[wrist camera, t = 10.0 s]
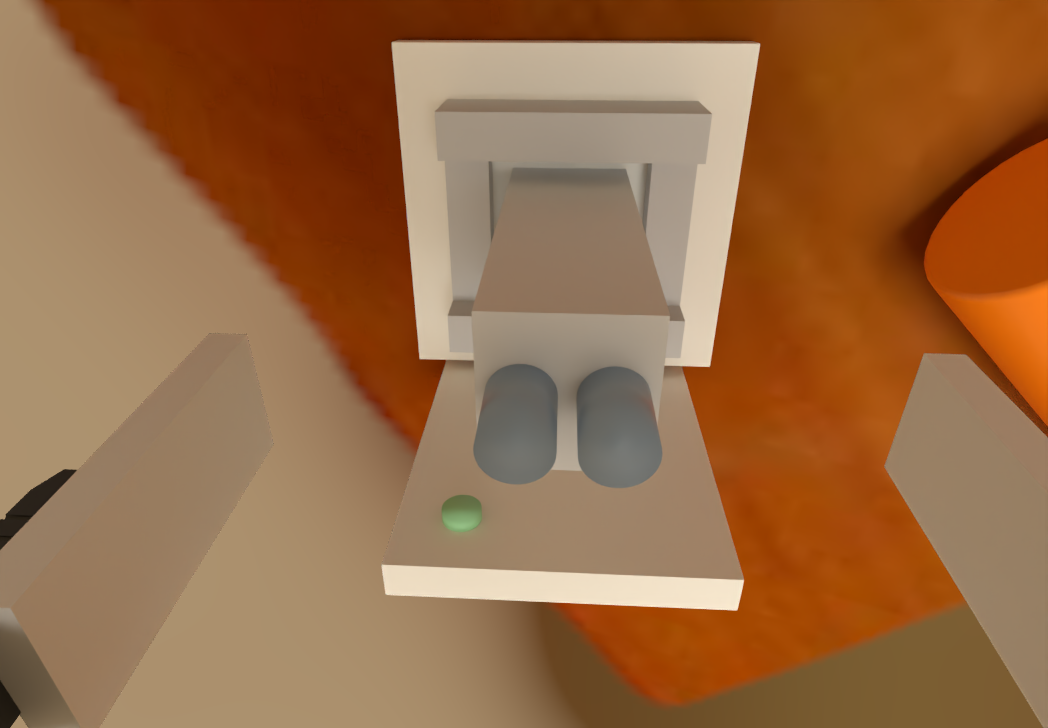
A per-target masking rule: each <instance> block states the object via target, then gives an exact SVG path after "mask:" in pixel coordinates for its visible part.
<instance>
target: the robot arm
mask: <svg viewBox="0 0 1048 728" xmlns="http://www.w3.org/2000/svg"><path fill="white" fill-rule="evenodd" d="M273 444H274V443H273V439H272V435H271V431H270V427H269V422H268V419H267V414H266V410H265V407H264V402H263V398H262V394H261V390H260V386H259V382H258V377H257V373H256V369H255V365H254V361H253V357H252V353H251V349H250V345H249V340H248V336H247V334H220V333H210V334H208V335H207V336H206V338H205V339H204V340H203V341H202V342H201V343H200V344H199V345H198V346H197V347H196V348H195V349H194V350H193V351H192V352H191V353H190V354H189V355H188V356H187V357H186V358H185V360H184V361H182V362H181V363H180V365H179V366H178V367H177V368H176V369H175V370H174V371H173V372H172V373H171V374H170V375H169V376H168V377H167V378H166V379H165V380H164V381H163V382H162V383H161V384H160V385H159V386H158V387H157V388H156V389H155V390H154V392H153V393H152V394H151V395H150V396H149V397H148V398H147V399H146V400H145V401H144V402H143V403H142V404H141V405H140V406H139V407H138V408H137V409H136V410H135V411H134V412H133V413H132V414H131V415H130V416H129V417H128V419H126V420H125V421H124V422H123V424H122V425H121V426H120V427H119V428H118V429H117V430H116V431H115V432H114V433H113V434H112V435H111V436H110V437H109V438H108V439H107V440H106V441H105V442H104V443H103V444H102V445H101V446H100V447H99V448H98V449H97V450H96V452H95V453H94V454H93V455H92V456H91V457H90V458H89V459H88V460H87V461H86V462H85V463H84V464H83V465H82V466H81V467H80V468H79V469H78V470H67V469H65V470H63V471H61V472H59V473H57V474H56V475H54V476H53V477H51V478H49V479H48V480H47V481H44V482H43V483H41V484H40V485H38V486H36V487H35V488H33V489H31V490H30V491H29V492H28V493H27V494H26V495H25V496H24V497H23V498H22V499H21V500H20V501H19V502H18V503H17V504H16V505H15V506H14V507H13V508H12V509H11V510H10V511H9V512H8V513H7V514H6V518H5V520H3V519H1V520H0V728H10V727H11V726H12V724H13V723H14V722H15V720H16V719H17V717H18V716H19V715H20V716H21V717H22V719H23V720H24V722H25V723H26V725H27V726H28V728H100V726H101V724H102V723H103V721H104V720H105V718H106V716H107V715H108V713H109V711H110V710H111V708H112V706H113V705H114V703H115V702H116V700H117V698H118V697H119V695H120V693H121V692H122V690H123V689H124V687H125V685H126V684H127V682H128V680H129V679H130V677H131V676H132V674H133V672H134V671H135V669H136V667H137V666H138V664H139V662H140V661H141V659H142V658H143V656H144V654H145V653H146V651H147V650H148V648H149V646H150V644H151V643H152V641H153V640H154V638H155V636H156V635H157V633H158V632H159V630H160V628H161V627H162V625H163V623H164V622H165V620H166V619H167V617H168V615H169V614H170V612H171V610H172V609H173V607H174V605H175V604H176V602H177V600H178V599H179V597H180V596H181V594H182V592H183V591H184V589H185V588H186V586H187V584H188V583H189V581H190V579H191V578H192V576H193V575H194V573H195V571H196V570H197V568H198V566H199V565H200V563H201V561H202V560H203V558H204V557H205V555H206V553H207V552H208V550H209V549H210V547H211V545H212V543H213V542H214V540H215V539H216V537H217V535H218V534H219V532H220V531H221V529H222V527H223V526H224V524H225V522H226V521H227V519H228V518H229V516H230V514H231V513H232V511H233V509H234V508H235V506H236V505H237V503H238V501H239V500H240V498H241V496H242V495H243V493H244V492H245V490H246V488H247V487H248V485H249V483H250V482H251V480H252V479H253V477H254V475H255V474H256V472H257V470H258V469H259V467H260V466H261V464H262V462H263V460H264V459H265V457H266V456H267V454H268V453H269V451H270V449H271V448H272V446H273ZM884 467H885V469H886V470H887V472H888V474H889V475H890V477H891V479H892V480H893V482H894V483H895V485H896V487H897V488H898V490H899V492H900V493H901V495H902V497H903V498H904V500H905V502H906V503H907V505H908V506H909V508H910V510H911V511H912V513H913V515H914V516H915V518H916V520H917V521H918V523H919V524H920V526H921V528H922V529H923V531H924V533H925V534H926V536H927V538H928V539H929V541H930V542H931V544H932V546H933V547H934V549H935V551H936V552H937V554H938V556H939V557H940V559H941V561H942V562H943V564H944V565H945V567H946V569H947V570H948V572H949V574H950V575H951V577H952V579H953V580H954V582H955V583H956V585H957V587H958V588H959V590H960V592H961V593H962V595H963V597H964V598H965V600H966V602H967V603H968V605H969V606H970V608H971V610H972V611H973V613H974V615H975V616H976V618H977V619H978V621H979V623H980V624H981V626H982V628H983V629H984V631H985V633H986V634H987V636H988V638H989V639H990V641H991V642H992V644H993V646H994V647H995V649H996V651H997V652H998V654H999V656H1000V657H1001V659H1002V660H1003V662H1004V664H1005V665H1006V667H1007V669H1008V670H1009V672H1010V674H1011V675H1012V677H1013V679H1014V680H1015V682H1016V684H1017V685H1018V686H1019V688H1020V690H1021V692H1022V693H1023V695H1024V697H1025V698H1026V700H1027V701H1028V703H1029V705H1030V706H1031V708H1032V710H1033V711H1034V713H1035V715H1036V716H1037V718H1038V720H1039V721H1040V723H1041V724H1042V726H1043V728H1048V437H1047V436H1046V435H1045V434H1044V433H1043V432H1042V431H1041V430H1040V429H1039V428H1038V427H1037V426H1036V425H1035V424H1034V423H1033V422H1032V421H1031V420H1030V419H1029V418H1028V417H1027V416H1026V415H1025V414H1024V413H1023V412H1022V411H1021V410H1020V409H1019V408H1018V407H1017V406H1016V405H1015V404H1014V403H1013V402H1012V401H1011V400H1010V399H1009V398H1008V397H1007V396H1006V395H1005V394H1004V393H1003V392H1002V391H1001V390H1000V389H999V388H998V387H997V385H996V384H995V383H994V382H993V381H992V380H991V379H990V378H989V377H988V376H987V375H986V374H985V373H984V372H983V371H982V370H981V369H980V368H979V367H978V366H977V365H976V364H975V363H974V362H973V361H972V360H971V359H970V358H969V357H968V356H967V355H965V354H929V353H924V355H923V358H922V361H921V364H920V366H919V369H918V372H917V375H916V378H915V381H914V384H913V386H912V389H911V392H910V395H909V398H908V401H907V403H906V406H905V409H904V412H903V415H902V418H901V421H900V423H899V426H898V429H897V432H896V435H895V438H894V441H893V443H892V446H891V449H890V452H889V455H888V458H887V461H886V463H885V466H884Z"/></svg>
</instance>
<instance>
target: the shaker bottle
mask: <svg viewBox="0 0 1048 728" xmlns="http://www.w3.org/2000/svg"><path fill="white" fill-rule="evenodd" d="M924 268H925V272H926V277H927V279H928V281H929V282H930V284H931V285H932V287H933V288H934V289H935V291H936V292H937V293H938V294H939V296H940V297H941V298H942V299H943V300H944V302H945V303H946V304H947V305H948V306H949V308H950V309H951V310H952V311H953V313H954V314H955V315H956V316H957V317H958V319H959V320H960V321H961V322H962V323H963V325H964V326H965V327H966V328H967V330H968V331H969V332H970V333H971V334H972V336H973V337H974V338H975V339H976V340H977V342H978V343H979V344H980V345H981V347H982V348H983V349H984V350H985V351H986V353H987V354H988V355H989V356H990V358H991V359H992V360H993V361H994V362H995V364H996V365H997V366H998V367H999V368H1000V370H1001V371H1002V372H1003V373H1004V375H1005V376H1006V377H1007V378H1008V379H1009V381H1010V382H1011V383H1012V384H1013V385H1014V387H1015V388H1016V389H1017V390H1018V392H1019V393H1020V394H1021V395H1022V396H1023V398H1024V399H1025V400H1026V401H1027V402H1028V404H1029V405H1030V406H1031V407H1032V409H1033V410H1034V411H1035V412H1036V413H1037V415H1038V416H1039V417H1040V418H1041V419H1042V421H1043V422H1044V423H1045V424H1046V426H1047V427H1048V138H1047V139H1045V140H1043V141H1041V142H1039V143H1037V144H1035V145H1033V146H1031V147H1029V148H1027V149H1024V150H1023V151H1021V152H1019V153H1018V154H1016V155H1014V156H1013V157H1011V158H1009V159H1008V160H1006V161H1004V162H1003V163H1001V164H1000V165H998V166H997V167H995V168H994V169H993V170H991V171H990V172H988V173H987V174H986V175H984V176H983V177H982V178H980V179H979V180H978V181H977V182H976V183H975V184H973V185H972V186H971V187H970V188H969V189H967V190H966V191H965V192H964V193H963V194H962V195H961V196H960V197H959V198H958V199H957V200H956V201H955V202H954V203H953V204H952V206H951V207H950V208H949V209H948V211H947V212H946V213H945V214H944V216H943V217H942V218H941V220H940V221H939V223H938V224H937V226H936V228H935V230H934V231H933V233H932V235H931V237H930V239H929V242H928V245H927V248H926V251H925V258H924Z"/></svg>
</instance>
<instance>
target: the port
mask: <svg viewBox="0 0 1048 728" xmlns="http://www.w3.org/2000/svg"><path fill="white" fill-rule="evenodd" d="M391 43H392V54H393V65H394V77H395V88H396V99H397V110H398V121H399V133H400V144H401V155H402V166H403V177H404V189H405V200H406V211H407V222H408V234H409V245H410V256H411V267H412V278H413V290H414V301H415V312H416V323H417V334H418V346H419V357H420V359H439V360H446V363H445V366H444V369H443V373H442V376H441V379H440V382H439V385H438V388H437V391H436V395H435V398H434V401H433V404H432V407H431V410H430V413H429V417H428V420H427V423H426V426H425V429H424V432H423V435H422V439H421V442H420V445H419V448H418V451H417V454H416V457H415V461H414V464H413V467H412V470H411V473H410V476H409V479H408V483H407V486H406V489H405V492H404V495H403V498H402V502H401V505H400V508H399V511H398V514H397V518H396V520H395V524H394V527H393V530H392V533H391V536H390V539H389V542H388V546H387V549H386V552H385V555H384V558H383V561H382V565H381V566H382V572H383V579H384V586H385V593H386V595H404V596H426V597H447V598H471V599H492V600H493V599H494V600H517V601H537V602H560V603H582V604H605V605H627V606H650V607H672V608H695V609H717V610H738V605H739V601H740V596H741V592H742V587H743V583H744V578H743V574H742V571H741V568H740V564H739V561H738V557H737V554H736V551H735V547H734V544H733V540H732V537H731V533H730V530H729V527H728V523H727V520H726V516H725V513H724V509H723V506H722V503H721V499H720V496H719V492H718V489H717V486H716V482H715V479H714V475H713V472H712V468H711V465H710V462H709V458H708V455H707V451H706V448H705V445H704V441H703V438H702V434H701V431H700V427H699V424H698V421H697V417H696V414H695V410H694V407H693V403H692V400H691V397H690V393H689V390H688V386H687V383H686V380H685V376H684V373H683V369H682V366H699V367H710V362H711V356H712V350H713V343H714V337H715V330H716V324H717V318H718V311H719V305H720V298H721V292H722V286H723V279H724V273H725V266H726V260H727V254H728V247H729V241H730V234H731V228H732V222H733V215H734V209H735V202H736V196H737V190H738V183H739V177H740V170H741V164H742V158H743V151H744V145H745V138H746V132H747V126H748V119H749V113H750V106H751V100H752V94H753V87H754V81H755V75H756V68H757V62H758V55H759V49H760V43H757V42H754V41H564V40H397V41H394V42H391ZM513 168H592V169H626V171H627V174H628V178H629V181H630V184H631V188H632V191H633V194H634V198H635V201H636V204H637V208H638V211H639V214H640V217H641V221H642V224H643V227H644V231H645V234H646V237H647V241H648V244H649V247H650V251H651V254H652V257H653V260H654V264H655V267H656V270H657V274H658V277H659V280H660V284H661V287H662V290H663V293H664V297H665V300H666V303H667V307H668V310H669V313H670V323H669V331H668V340H667V348H666V357H665V365H664V374H663V382H662V391H661V399H660V408H659V416H658V425H657V426H658V431H659V436H660V441H661V446H662V460H661V463H660V466H659V468H658V469H657V471H656V472H655V473H654V474H653V475H652V476H651V477H650V478H649V479H648V480H646V481H644V482H643V483H640V484H638V485H635V486H632V487H627V488H611V487H606V486H603V485H600V484H598V483H596V482H594V481H592V480H591V479H590V478H588V477H587V476H586V475H585V474H584V472H583V471H572V470H550V471H549V472H548V473H547V474H546V475H545V476H543V477H542V478H540V479H538V480H536V481H534V482H531V483H527V484H507V483H503V482H500V481H497V480H495V479H493V478H491V477H490V476H488V475H487V474H486V473H484V472H483V471H482V470H481V468H480V467H478V464H477V462H476V460H475V457H474V453H473V445H474V440H475V436H476V431H477V423H476V400H475V377H474V354H473V332H472V308H473V305H474V301H475V298H476V294H477V291H478V287H479V284H480V281H481V277H482V274H483V270H484V267H485V263H486V260H487V256H488V253H489V249H490V246H491V242H492V239H493V236H494V232H495V229H496V225H497V222H498V218H499V215H500V211H501V208H502V204H503V201H504V197H505V194H506V191H507V187H508V184H509V180H510V177H511V173H512V170H513Z"/></svg>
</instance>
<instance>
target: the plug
mask: <svg viewBox="0 0 1048 728" xmlns="http://www.w3.org/2000/svg"><path fill="white" fill-rule="evenodd" d="M669 323H670V313H669V310H668V307H667V303H666V300H665V297H664V293H663V290H662V287H661V284H660V280H659V277H658V274H657V270H656V267H655V264H654V260H653V257H652V254H651V251H650V247H649V244H648V241H647V237H646V234H645V231H644V227H643V224H642V221H641V217H640V214H639V211H638V208H637V204H636V201H635V198H634V194H633V191H632V188H631V184H630V181H629V178H628V174H627V171H626V169H592V168H513V170H512V173H511V177H510V180H509V184H508V187H507V191H506V194H505V197H504V201H503V204H502V208H501V211H500V215H499V218H498V222H497V225H496V229H495V232H494V236H493V239H492V242H491V246H490V249H489V253H488V256H487V260H486V263H485V267H484V270H483V274H482V277H481V281H480V284H479V287H478V291H477V294H476V298H475V301H474V305H473V308H472V332H473V354H474V377H475V400H476V423H477V431H476V436H475V440H474V445H473V453H474V457H475V460H476V462H477V464H478V467H480V468H481V470H482V471H483V472H484V473H486V474H487V475H488V476H490V477H491V478H493V479H495V480H497V481H500V482H503V483H507V484H527V483H531V482H534V481H536V480H538V479H540V478H542V477H543V476H545V475H546V474H547V473H548V472H549V471H550V470H572V471H583V472H584V474H585V475H586V476H587V477H588V478H590V479H591V480H592V481H594V482H596V483H598V484H600V485H603V486H606V487H611V488H627V487H632V486H635V485H638V484H640V483H643V482H644V481H646V480H648V479H649V478H650V477H651V476H652V475H653V474H654V473H655V472H656V471H657V469H658V468H659V466H660V463H661V460H662V446H661V441H660V436H659V431H658V426H657V425H658V416H659V408H660V399H661V391H662V382H663V374H664V365H665V357H666V348H667V340H668V331H669Z"/></svg>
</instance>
